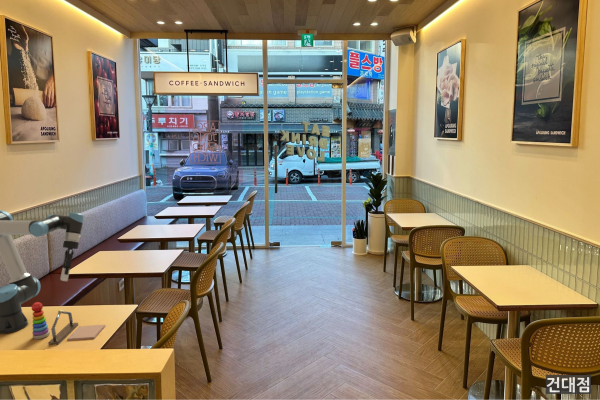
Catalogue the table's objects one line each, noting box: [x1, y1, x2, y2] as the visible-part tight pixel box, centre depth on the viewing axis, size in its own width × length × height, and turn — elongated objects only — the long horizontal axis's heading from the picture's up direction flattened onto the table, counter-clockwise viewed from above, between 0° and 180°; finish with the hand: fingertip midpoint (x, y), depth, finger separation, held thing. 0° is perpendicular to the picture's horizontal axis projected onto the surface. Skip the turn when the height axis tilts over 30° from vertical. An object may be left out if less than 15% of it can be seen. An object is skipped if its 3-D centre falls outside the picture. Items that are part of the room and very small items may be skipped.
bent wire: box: [47, 309, 79, 346], centre depth 244 cm, size 22×5×14 cm, turn 1°
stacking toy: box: [31, 301, 50, 340], centre depth 244 cm, size 8×8×19 cm
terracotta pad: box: [66, 324, 106, 341], centre depth 246 cm, size 14×14×1 cm
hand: (63, 280), depth 250 cm, fingers open, 13 cm apart
